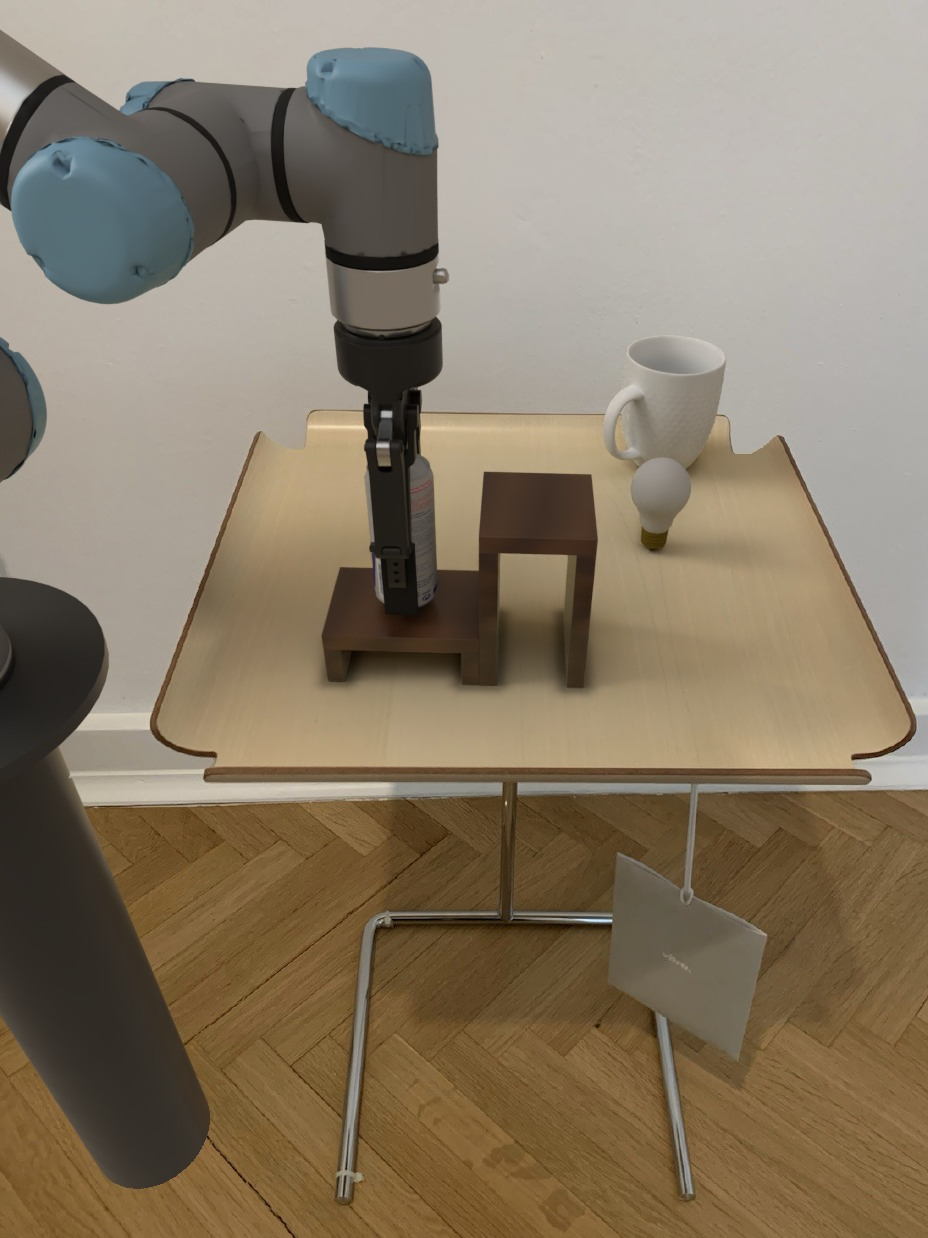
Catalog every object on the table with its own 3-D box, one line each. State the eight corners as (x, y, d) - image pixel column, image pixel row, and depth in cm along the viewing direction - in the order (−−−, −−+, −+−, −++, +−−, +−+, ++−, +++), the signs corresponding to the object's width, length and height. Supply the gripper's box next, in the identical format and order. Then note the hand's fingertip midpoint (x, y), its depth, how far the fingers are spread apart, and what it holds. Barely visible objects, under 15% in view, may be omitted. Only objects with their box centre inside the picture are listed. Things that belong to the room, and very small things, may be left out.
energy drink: (414, 567, 84) (408, 443, 76) (450, 596, 80) (446, 470, 73) (363, 588, 81) (350, 462, 73) (397, 619, 78) (388, 491, 70)
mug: (634, 505, 104) (647, 392, 95) (570, 465, 110) (577, 356, 102) (727, 467, 111) (748, 358, 102) (662, 431, 117) (676, 326, 109)
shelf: (327, 681, 81) (306, 532, 71) (344, 610, 88) (327, 467, 79) (583, 688, 81) (597, 539, 71) (579, 617, 88) (591, 473, 79)
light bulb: (676, 568, 95) (691, 480, 88) (618, 558, 96) (628, 470, 89) (684, 538, 99) (699, 451, 92) (629, 529, 100) (639, 442, 94)
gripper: (430, 373, 58) (441, 660, 74) (450, 274, 72) (455, 533, 88) (309, 371, 58) (345, 658, 74) (352, 272, 72) (375, 531, 88)
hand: (405, 589), depth 81 cm, fingers closed on energy drink, 5 cm apart
